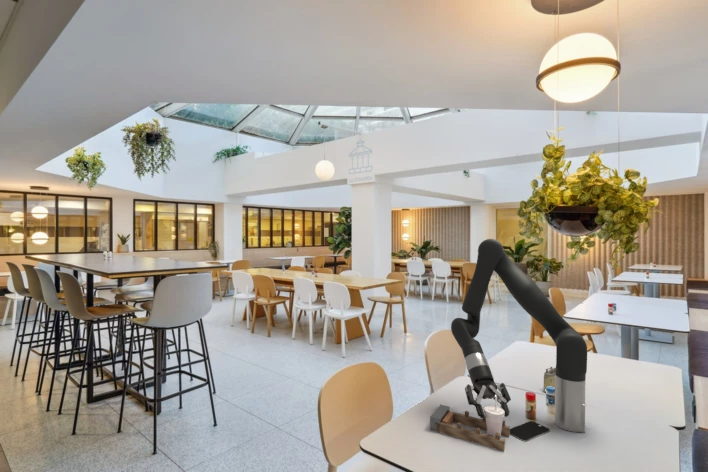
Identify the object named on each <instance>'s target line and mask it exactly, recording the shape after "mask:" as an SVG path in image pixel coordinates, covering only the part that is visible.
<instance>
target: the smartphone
mask: <svg viewBox="0 0 708 472" xmlns="http://www.w3.org/2000/svg"><path fill="white" fill-rule="evenodd" d="M550 432H551V429H550V428H549V427H546V426H544V425H542V424H541V423H538V422H535V421H534V420H533V421H532V420H529V421H528V422H525V423H522V424H519V425H516V426H514V427H510V436H512V437H514V438H515V439H517V440H519V441H521V442H523V443H524V442H525V443H527V442H529V441H532V440H534V439H535V438H538V437H541V436H544V435H545V434H548V433H550Z"/></svg>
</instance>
